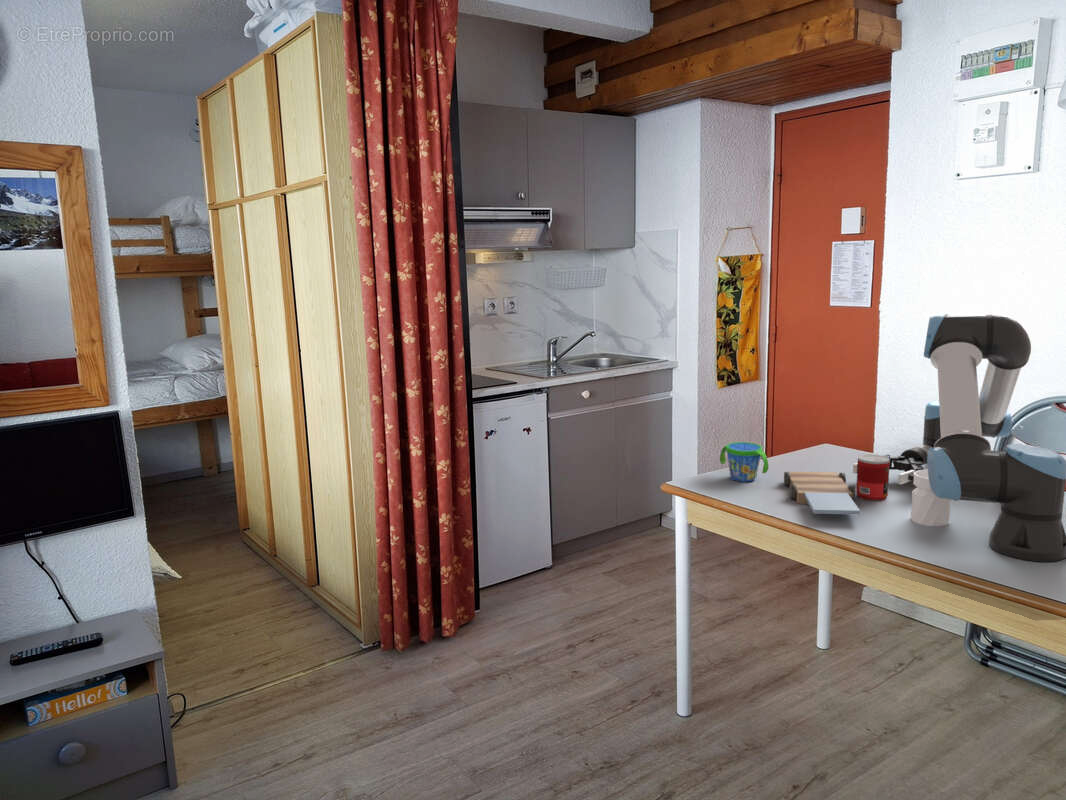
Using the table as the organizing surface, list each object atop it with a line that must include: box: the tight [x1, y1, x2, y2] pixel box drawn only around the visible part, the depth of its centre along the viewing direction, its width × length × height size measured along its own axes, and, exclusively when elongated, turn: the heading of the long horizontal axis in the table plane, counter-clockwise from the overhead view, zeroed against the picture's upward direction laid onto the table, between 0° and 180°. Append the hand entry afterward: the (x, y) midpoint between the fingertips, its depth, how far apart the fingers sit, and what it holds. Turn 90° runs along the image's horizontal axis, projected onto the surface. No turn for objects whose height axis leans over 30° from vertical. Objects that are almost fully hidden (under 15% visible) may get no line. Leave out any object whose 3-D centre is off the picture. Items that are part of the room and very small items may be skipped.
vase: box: [910, 470, 952, 527], centre depth 196 cm, size 9×9×12 cm
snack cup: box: [719, 441, 769, 483], centre depth 235 cm, size 16×10×10 cm
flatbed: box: [783, 471, 857, 505], centre depth 221 cm, size 20×16×4 cm
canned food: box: [855, 453, 890, 502], centre depth 216 cm, size 8×8×11 cm
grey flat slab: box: [804, 492, 861, 515], centre depth 204 cm, size 1×11×14 cm
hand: (876, 474), depth 217 cm, fingers open, 13 cm apart
